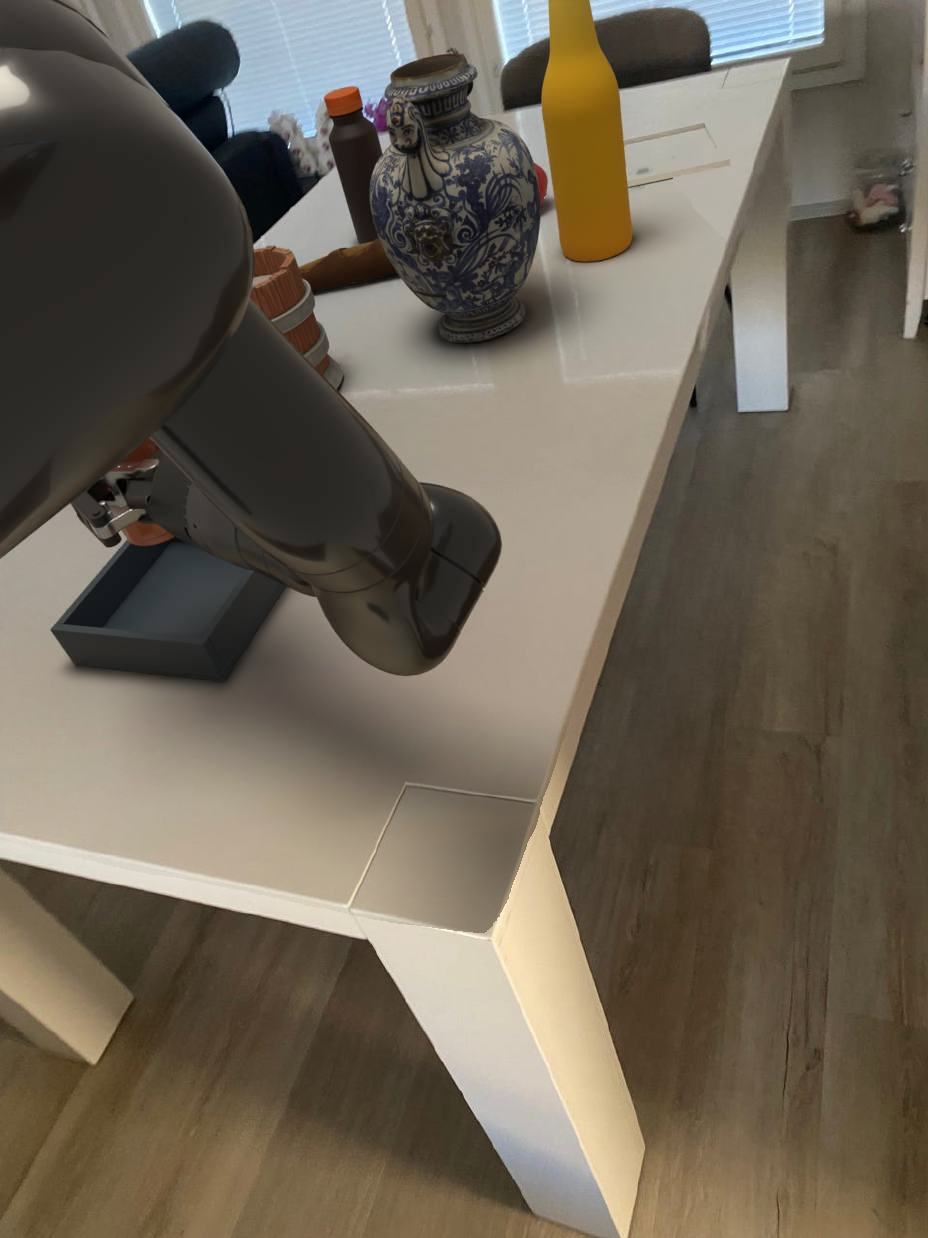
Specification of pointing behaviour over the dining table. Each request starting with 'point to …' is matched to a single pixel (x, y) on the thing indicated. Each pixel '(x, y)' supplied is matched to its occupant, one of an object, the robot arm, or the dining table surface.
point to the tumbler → (137, 531)
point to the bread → (348, 266)
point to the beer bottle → (584, 138)
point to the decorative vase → (455, 200)
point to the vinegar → (354, 156)
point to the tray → (166, 612)
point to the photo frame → (678, 172)
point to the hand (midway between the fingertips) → (106, 447)
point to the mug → (292, 307)
